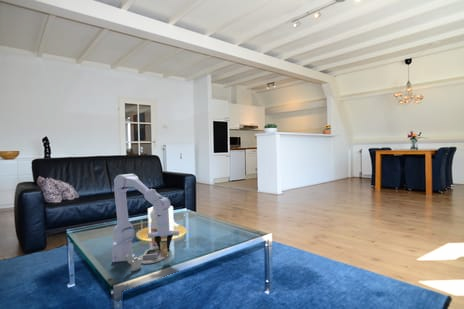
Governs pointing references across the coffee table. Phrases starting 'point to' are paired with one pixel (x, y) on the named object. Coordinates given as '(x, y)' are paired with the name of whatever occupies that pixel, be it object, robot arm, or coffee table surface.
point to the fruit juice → (154, 228)
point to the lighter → (134, 262)
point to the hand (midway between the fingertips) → (164, 251)
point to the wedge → (163, 248)
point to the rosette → (151, 256)
